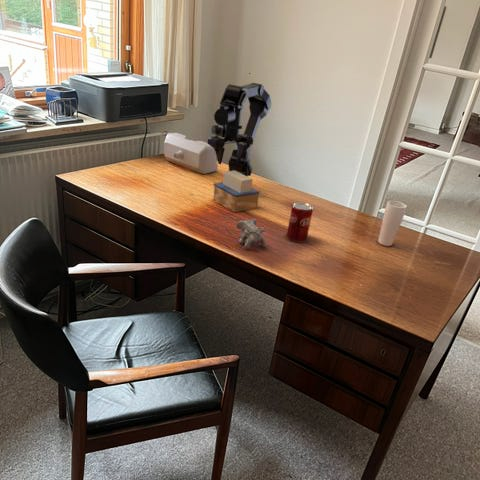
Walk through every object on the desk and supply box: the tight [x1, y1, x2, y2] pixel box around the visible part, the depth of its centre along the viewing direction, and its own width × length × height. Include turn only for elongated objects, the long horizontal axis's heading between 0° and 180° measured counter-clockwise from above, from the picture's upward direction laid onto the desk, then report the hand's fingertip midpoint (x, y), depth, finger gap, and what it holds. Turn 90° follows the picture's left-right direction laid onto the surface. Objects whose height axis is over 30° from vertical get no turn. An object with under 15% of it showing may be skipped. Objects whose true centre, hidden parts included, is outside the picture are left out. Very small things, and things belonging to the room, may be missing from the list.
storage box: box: [212, 185, 260, 213], centre depth 188 cm, size 14×12×6 cm
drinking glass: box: [377, 200, 408, 247], centre depth 169 cm, size 7×7×15 cm
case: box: [222, 170, 253, 193], centre depth 184 cm, size 11×5×5 cm, turn 40°
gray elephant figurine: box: [236, 218, 266, 250], centre depth 158 cm, size 9×12×8 cm
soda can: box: [286, 201, 314, 243], centre depth 165 cm, size 7×7×12 cm
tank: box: [163, 132, 219, 175], centre depth 218 cm, size 25×16×12 cm, turn 52°
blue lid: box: [213, 181, 260, 197], centre depth 186 cm, size 14×12×1 cm
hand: (228, 162), depth 190 cm, fingers open, 9 cm apart
